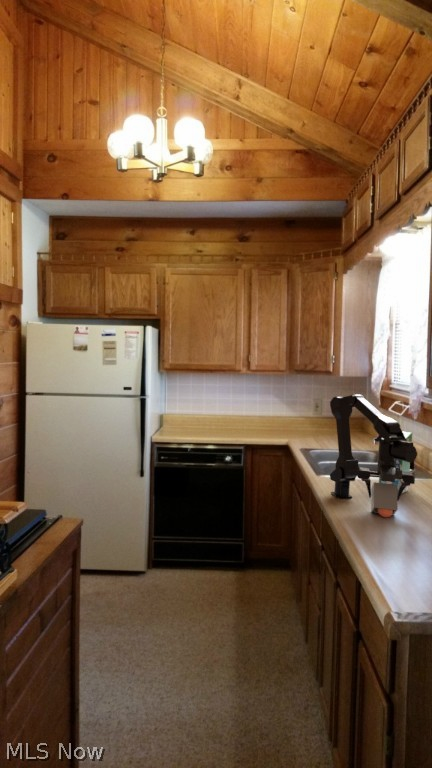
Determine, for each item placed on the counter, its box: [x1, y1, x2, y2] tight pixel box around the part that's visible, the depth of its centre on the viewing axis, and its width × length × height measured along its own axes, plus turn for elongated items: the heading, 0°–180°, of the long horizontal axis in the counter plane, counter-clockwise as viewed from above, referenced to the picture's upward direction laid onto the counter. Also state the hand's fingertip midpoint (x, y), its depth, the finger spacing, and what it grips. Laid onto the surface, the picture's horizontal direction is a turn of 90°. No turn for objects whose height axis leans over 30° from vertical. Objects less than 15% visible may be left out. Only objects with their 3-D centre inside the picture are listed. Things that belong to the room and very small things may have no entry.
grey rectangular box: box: [370, 482, 399, 515], centre depth 163 cm, size 8×8×9 cm
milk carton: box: [378, 430, 413, 494], centre depth 193 cm, size 9×9×25 cm
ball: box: [378, 508, 393, 518], centre depth 160 cm, size 5×5×5 cm
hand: (383, 499), depth 163 cm, fingers open, 9 cm apart
